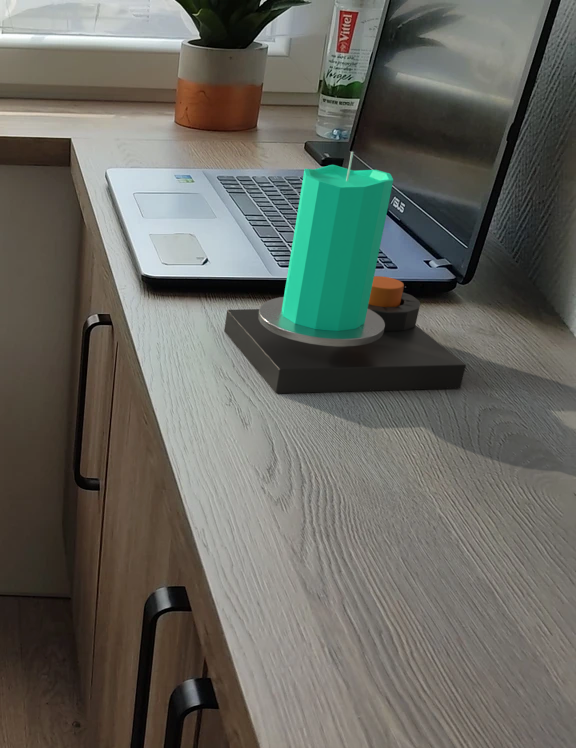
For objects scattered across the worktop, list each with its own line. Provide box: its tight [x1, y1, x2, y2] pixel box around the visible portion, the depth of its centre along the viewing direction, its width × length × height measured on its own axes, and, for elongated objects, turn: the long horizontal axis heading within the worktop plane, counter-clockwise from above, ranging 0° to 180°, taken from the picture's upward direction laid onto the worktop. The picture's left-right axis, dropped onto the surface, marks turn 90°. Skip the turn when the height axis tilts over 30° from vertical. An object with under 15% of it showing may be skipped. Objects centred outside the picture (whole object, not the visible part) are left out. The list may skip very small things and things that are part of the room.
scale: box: [223, 292, 467, 394], centre depth 84 cm, size 14×12×4 cm
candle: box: [282, 151, 394, 331], centre depth 78 cm, size 6×6×12 cm
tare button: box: [369, 275, 405, 307], centre depth 86 cm, size 3×3×2 cm
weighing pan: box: [258, 296, 385, 347], centre depth 81 cm, size 9×9×1 cm
